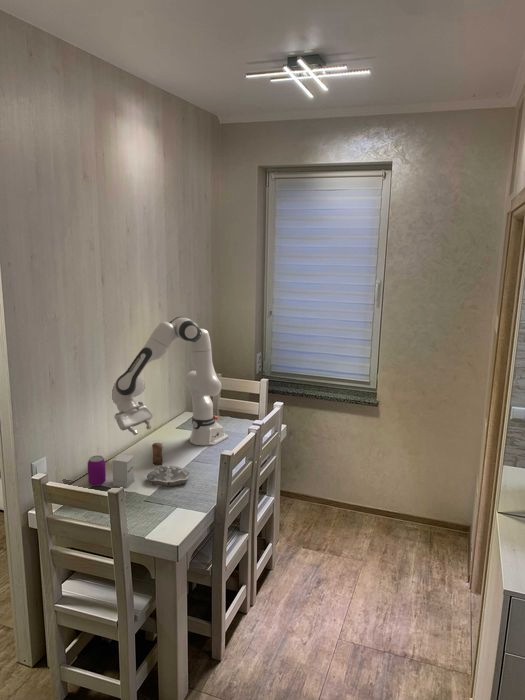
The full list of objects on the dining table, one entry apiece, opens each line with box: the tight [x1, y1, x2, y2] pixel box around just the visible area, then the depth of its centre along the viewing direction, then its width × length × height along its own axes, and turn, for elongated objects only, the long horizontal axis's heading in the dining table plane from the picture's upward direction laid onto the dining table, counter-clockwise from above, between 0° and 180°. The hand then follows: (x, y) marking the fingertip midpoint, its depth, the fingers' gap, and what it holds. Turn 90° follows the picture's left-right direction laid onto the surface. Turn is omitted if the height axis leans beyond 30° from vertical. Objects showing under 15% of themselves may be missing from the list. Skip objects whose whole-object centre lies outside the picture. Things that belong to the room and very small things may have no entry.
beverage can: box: [87, 455, 107, 487], centre depth 232 cm, size 8×8×12 cm
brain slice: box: [146, 465, 190, 487], centre depth 239 cm, size 20×17×3 cm
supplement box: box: [111, 453, 135, 489], centre depth 232 cm, size 7×7×13 cm
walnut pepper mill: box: [151, 442, 163, 467], centre depth 254 cm, size 5×5×10 cm
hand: (143, 431), depth 257 cm, fingers open, 8 cm apart
